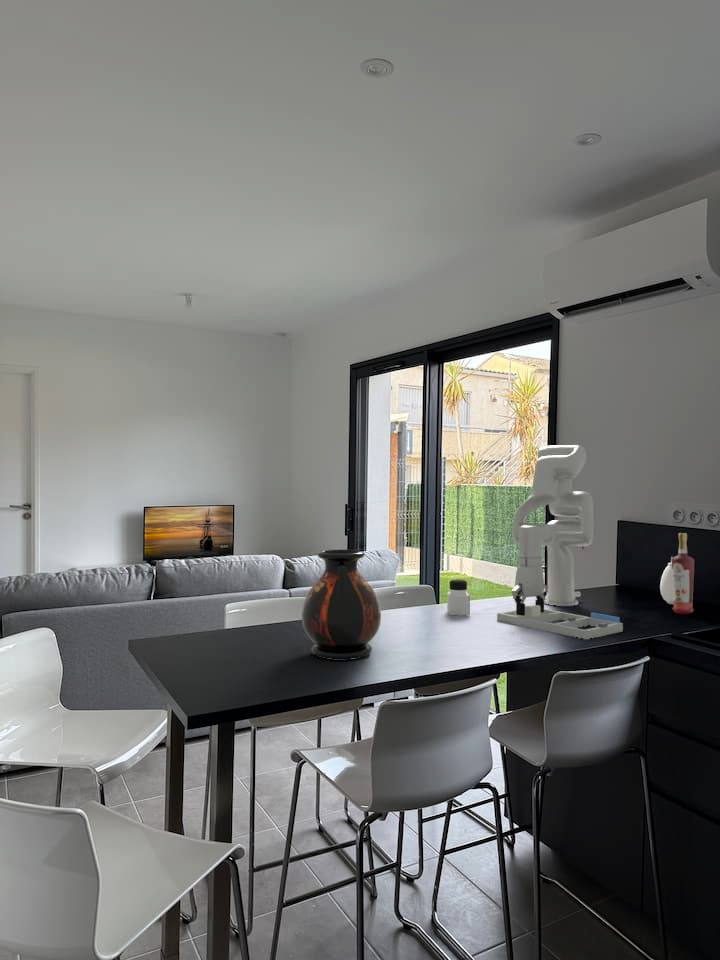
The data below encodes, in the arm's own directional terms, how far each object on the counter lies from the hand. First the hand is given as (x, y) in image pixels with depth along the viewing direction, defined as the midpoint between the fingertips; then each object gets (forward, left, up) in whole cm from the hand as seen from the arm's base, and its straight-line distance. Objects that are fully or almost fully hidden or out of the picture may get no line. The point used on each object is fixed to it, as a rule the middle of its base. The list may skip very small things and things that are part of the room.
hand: (530, 613), depth 235 cm
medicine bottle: (+11, -23, -3) cm, 26 cm away
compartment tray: (0, +11, -2) cm, 11 cm away
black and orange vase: (+76, -2, -3) cm, 76 cm away
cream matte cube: (0, 0, -2) cm, 2 cm away
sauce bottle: (-65, +13, -3) cm, 67 cm away
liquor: (-51, +25, -3) cm, 57 cm away
